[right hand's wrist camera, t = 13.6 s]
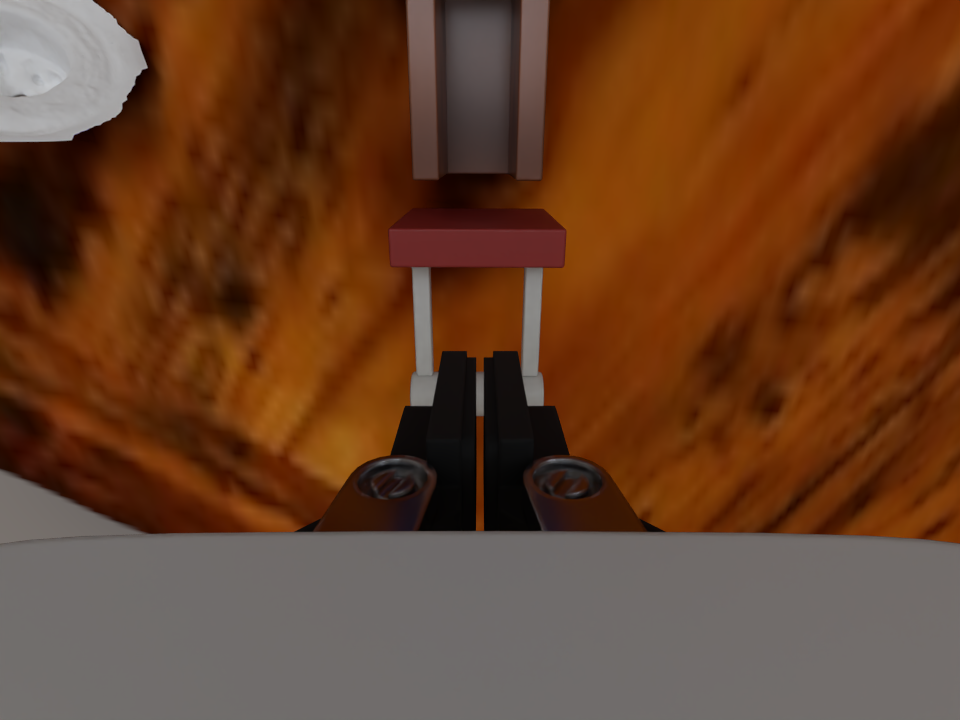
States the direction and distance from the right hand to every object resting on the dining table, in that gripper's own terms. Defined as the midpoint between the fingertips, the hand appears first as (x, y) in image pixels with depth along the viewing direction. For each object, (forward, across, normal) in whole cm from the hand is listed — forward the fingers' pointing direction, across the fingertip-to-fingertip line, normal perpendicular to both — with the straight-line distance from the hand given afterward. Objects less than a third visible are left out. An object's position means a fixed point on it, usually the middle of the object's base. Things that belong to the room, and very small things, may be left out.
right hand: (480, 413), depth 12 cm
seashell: (+13, +16, -9) cm, 23 cm away
